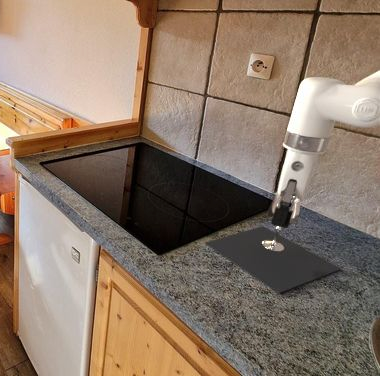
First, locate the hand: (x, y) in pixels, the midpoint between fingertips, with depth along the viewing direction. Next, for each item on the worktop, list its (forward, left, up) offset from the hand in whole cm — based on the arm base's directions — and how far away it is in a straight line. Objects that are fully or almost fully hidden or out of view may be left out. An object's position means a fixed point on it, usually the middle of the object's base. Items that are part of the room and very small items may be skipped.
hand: (281, 219), depth 89 cm
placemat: (0, 0, -10) cm, 10 cm away
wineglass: (0, 0, -7) cm, 7 cm away
